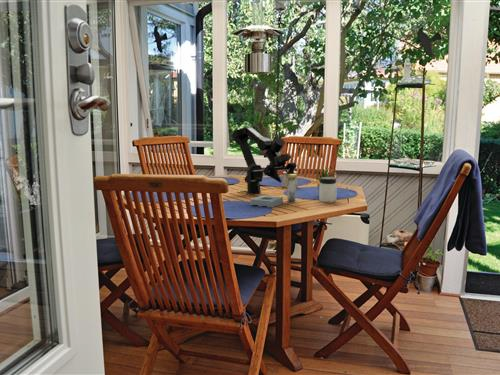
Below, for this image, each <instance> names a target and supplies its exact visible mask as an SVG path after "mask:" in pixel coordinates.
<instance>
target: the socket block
mask: <svg viewBox="0 0 500 375" xmlns="http://www.w3.org/2000/svg"><path fill="white" fill-rule="evenodd" d="M283 203H284V197H282V196H272V195H260V196H256V197H254V198H251V199H250V206H252V205H258V206H257V207H262V206H267V207H266V208H274V207H277V206H279V205H283Z"/></svg>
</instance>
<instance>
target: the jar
mask: <svg viewBox="0 0 500 375" xmlns="http://www.w3.org/2000/svg"><path fill="white" fill-rule="evenodd" d="M319 179H320V181H319V182H318V184H319V193H318V200H319V201H320V202H321V203H334V202H337V195H338V194H337V192H338V191H337V190H338V187H337V186H338V185H337V184H338V183H337V177H336V176H335V177H333V176H331V177H322V176H321V178H320V177H319Z"/></svg>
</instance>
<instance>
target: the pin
mask: <svg viewBox="0 0 500 375" xmlns="http://www.w3.org/2000/svg"><path fill="white" fill-rule="evenodd" d="M286 178H288V188H287V199H286V200H287V202H288V203H295V202H296V188H295V178H297V179H298V174H286Z"/></svg>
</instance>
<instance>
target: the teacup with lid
mask: <svg viewBox="0 0 500 375" xmlns="http://www.w3.org/2000/svg"><path fill="white" fill-rule="evenodd" d="M286 174H287V172H286V171H285V170H283V172H282V174H280V175H279V177H280V178H281V177H282V181H281V183H280V184H282V187H283V188H285V189H288V178H286ZM294 174H297V175H298V171H295V170H294ZM296 188H298V177H297V178H295V189H296Z"/></svg>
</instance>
